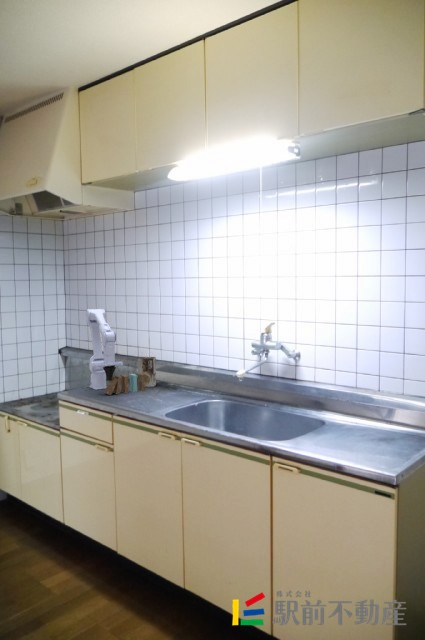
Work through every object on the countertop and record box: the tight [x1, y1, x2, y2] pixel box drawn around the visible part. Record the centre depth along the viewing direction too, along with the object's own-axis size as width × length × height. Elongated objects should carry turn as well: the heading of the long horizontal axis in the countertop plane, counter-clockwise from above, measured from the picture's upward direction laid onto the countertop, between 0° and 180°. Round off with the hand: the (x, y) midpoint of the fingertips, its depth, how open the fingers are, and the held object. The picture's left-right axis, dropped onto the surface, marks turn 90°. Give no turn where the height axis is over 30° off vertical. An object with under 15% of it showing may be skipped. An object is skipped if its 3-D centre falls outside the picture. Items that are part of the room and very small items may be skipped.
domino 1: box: [103, 376, 118, 396], centre depth 268 cm, size 2×5×9 cm, turn 35°
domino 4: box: [129, 373, 138, 393], centre depth 275 cm, size 2×5×9 cm, turn 34°
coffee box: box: [137, 356, 157, 388], centre depth 289 cm, size 9×6×16 cm
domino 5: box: [137, 373, 146, 392], centre depth 278 cm, size 2×5×9 cm, turn 34°
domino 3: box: [120, 374, 129, 394], centre depth 272 cm, size 2×5×9 cm, turn 34°
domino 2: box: [112, 374, 122, 395], centre depth 270 cm, size 2×5×9 cm, turn 34°
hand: (109, 380), depth 267 cm, fingers closed
